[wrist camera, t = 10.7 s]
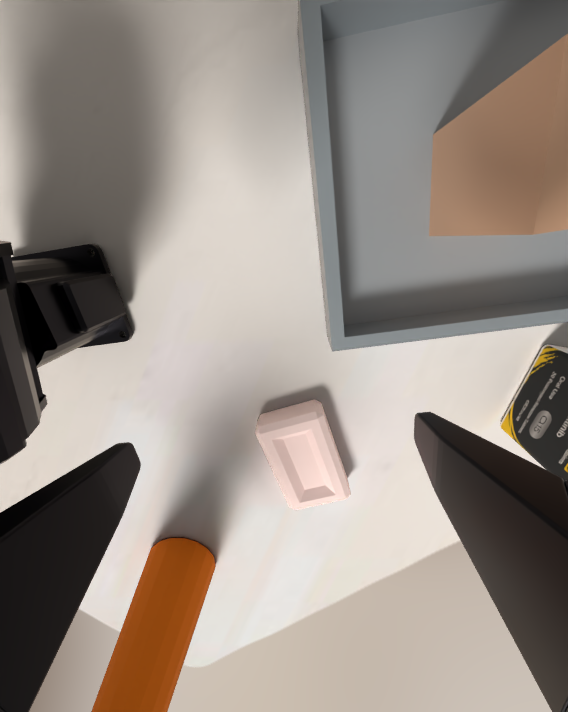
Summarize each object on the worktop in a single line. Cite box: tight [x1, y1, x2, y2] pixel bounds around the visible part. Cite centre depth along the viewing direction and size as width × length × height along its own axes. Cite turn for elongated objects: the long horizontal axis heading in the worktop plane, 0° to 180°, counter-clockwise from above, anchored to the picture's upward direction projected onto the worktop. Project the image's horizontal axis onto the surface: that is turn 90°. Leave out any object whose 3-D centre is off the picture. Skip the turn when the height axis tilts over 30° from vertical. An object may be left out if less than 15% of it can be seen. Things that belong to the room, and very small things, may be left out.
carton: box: [429, 34, 568, 236], centre depth 12 cm, size 5×5×8 cm
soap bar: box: [255, 399, 351, 510], centre depth 23 cm, size 5×9×2 cm, turn 19°
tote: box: [298, 0, 568, 351], centre depth 15 cm, size 18×16×3 cm
